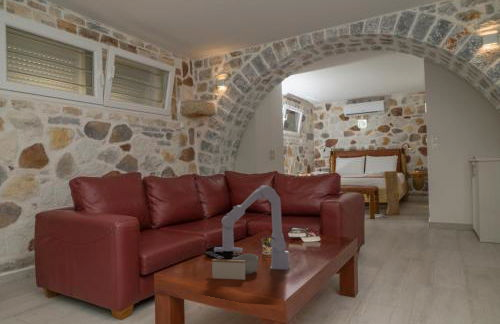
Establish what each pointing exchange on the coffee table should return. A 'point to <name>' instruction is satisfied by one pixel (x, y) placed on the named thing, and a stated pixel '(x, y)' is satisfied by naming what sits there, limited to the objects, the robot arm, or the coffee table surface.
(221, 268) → the cream slab
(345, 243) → the coffee table surface
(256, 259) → the teacup
